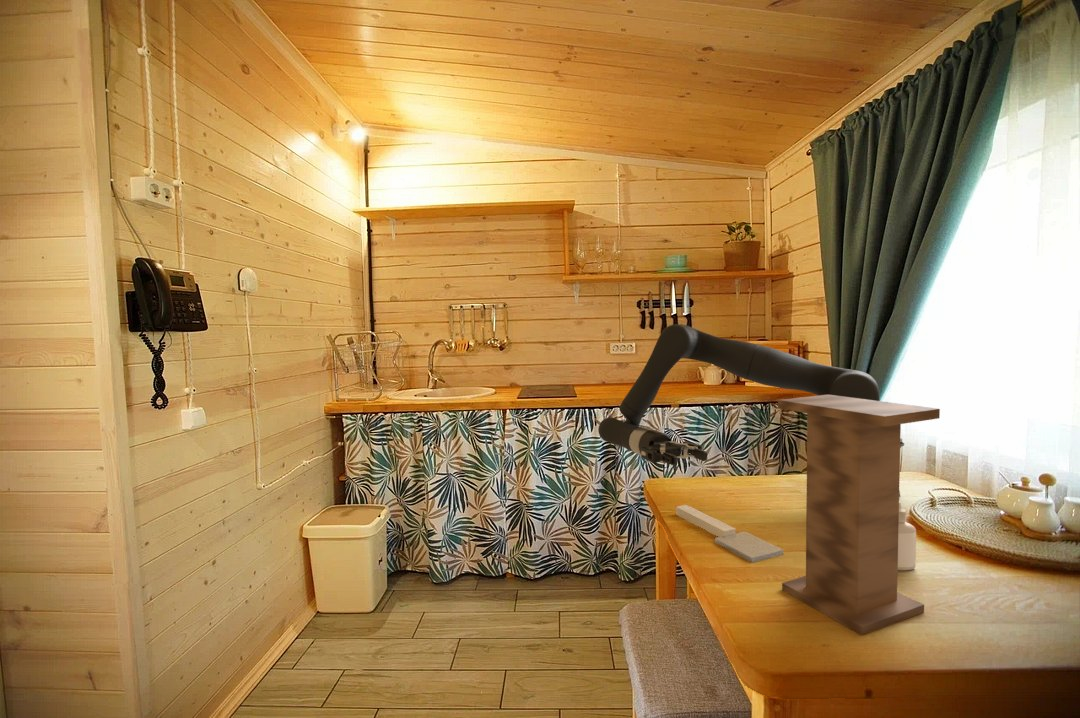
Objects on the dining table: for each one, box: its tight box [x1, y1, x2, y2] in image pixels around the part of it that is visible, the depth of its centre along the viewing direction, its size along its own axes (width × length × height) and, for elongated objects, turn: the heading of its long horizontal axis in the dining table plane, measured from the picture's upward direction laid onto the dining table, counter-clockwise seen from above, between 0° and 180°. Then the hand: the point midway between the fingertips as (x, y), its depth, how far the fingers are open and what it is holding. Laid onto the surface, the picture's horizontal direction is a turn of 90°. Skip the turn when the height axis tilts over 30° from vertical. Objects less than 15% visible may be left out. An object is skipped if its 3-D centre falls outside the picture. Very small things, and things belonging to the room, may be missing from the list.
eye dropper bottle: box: [898, 501, 917, 571], centre depth 93 cm, size 4×6×12 cm
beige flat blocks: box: [675, 504, 784, 563], centre depth 110 cm, size 26×8×2 cm, turn 23°
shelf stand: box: [777, 395, 941, 636], centre depth 82 cm, size 18×14×32 cm
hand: (691, 458), depth 118 cm, fingers open, 8 cm apart
